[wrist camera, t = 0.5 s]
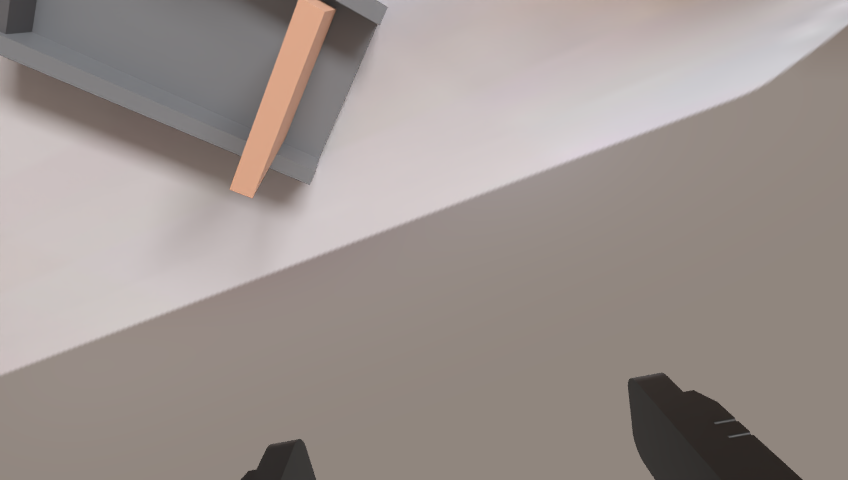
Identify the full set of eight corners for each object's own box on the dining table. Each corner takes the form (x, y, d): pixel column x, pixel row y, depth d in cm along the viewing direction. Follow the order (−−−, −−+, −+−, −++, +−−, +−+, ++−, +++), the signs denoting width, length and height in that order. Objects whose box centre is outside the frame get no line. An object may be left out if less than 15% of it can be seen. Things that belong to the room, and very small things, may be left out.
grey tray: (18, 39, 30) (-27, 44, 27) (50, -190, 25) (0, -221, 22) (314, 167, 37) (309, 184, 33) (384, 6, 32) (387, 7, 28)
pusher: (269, 131, 34) (229, 189, 23) (320, -1, 30) (299, -3, 20) (285, 138, 34) (252, 198, 24) (336, 8, 30) (324, 11, 20)
